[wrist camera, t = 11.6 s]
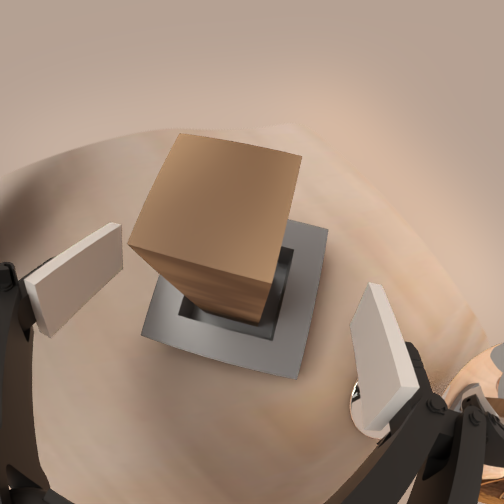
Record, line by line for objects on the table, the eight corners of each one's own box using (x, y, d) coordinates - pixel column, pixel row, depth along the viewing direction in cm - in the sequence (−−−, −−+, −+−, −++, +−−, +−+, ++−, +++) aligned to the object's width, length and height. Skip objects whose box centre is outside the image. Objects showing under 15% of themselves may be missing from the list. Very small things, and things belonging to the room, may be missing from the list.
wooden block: (204, 312, 20) (127, 243, 7) (219, 262, 22) (179, 133, 8) (257, 326, 20) (271, 283, 7) (271, 275, 21) (302, 156, 8)
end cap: (161, 338, 21) (140, 335, 16) (198, 223, 24) (188, 196, 20) (287, 373, 20) (296, 379, 16) (314, 251, 23) (328, 229, 19)
